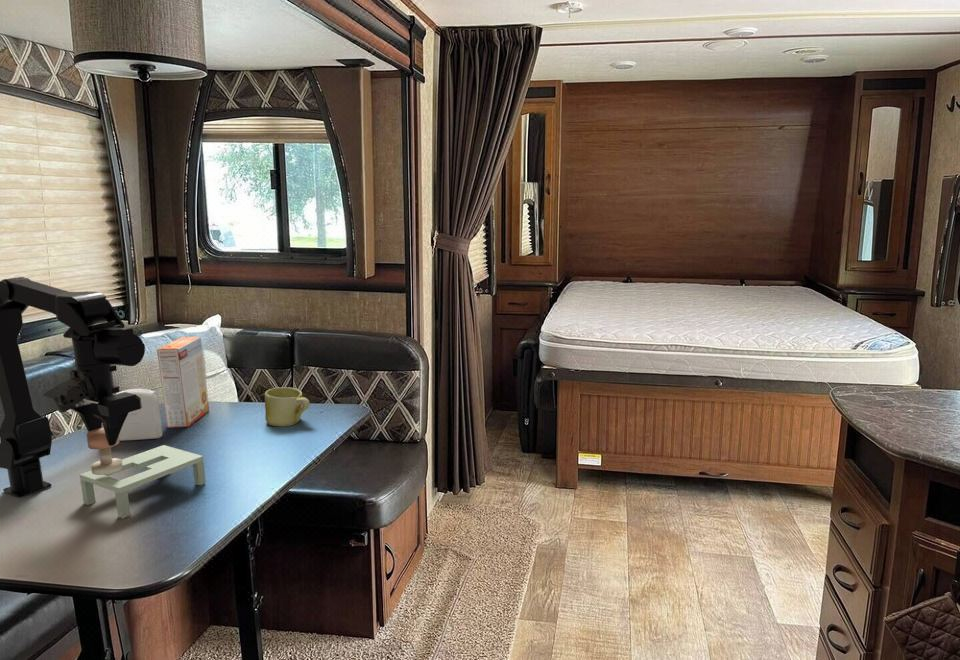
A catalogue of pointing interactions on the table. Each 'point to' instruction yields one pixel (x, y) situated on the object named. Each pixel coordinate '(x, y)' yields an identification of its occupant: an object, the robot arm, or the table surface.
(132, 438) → the photo printer
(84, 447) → the table surface
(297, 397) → the mug
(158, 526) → the table surface
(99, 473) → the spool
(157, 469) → the keyhole board
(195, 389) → the cracker box
